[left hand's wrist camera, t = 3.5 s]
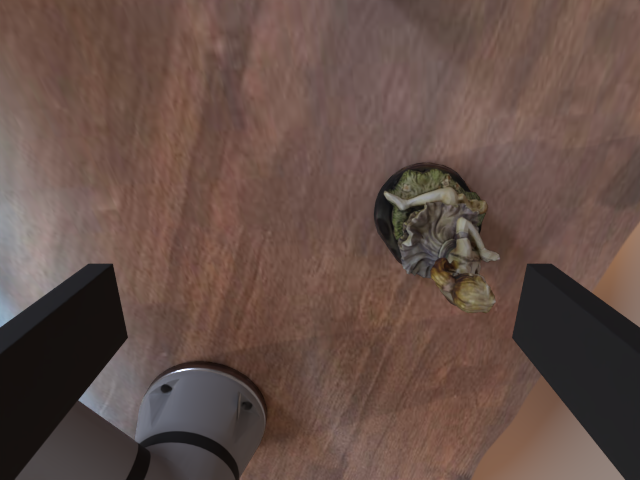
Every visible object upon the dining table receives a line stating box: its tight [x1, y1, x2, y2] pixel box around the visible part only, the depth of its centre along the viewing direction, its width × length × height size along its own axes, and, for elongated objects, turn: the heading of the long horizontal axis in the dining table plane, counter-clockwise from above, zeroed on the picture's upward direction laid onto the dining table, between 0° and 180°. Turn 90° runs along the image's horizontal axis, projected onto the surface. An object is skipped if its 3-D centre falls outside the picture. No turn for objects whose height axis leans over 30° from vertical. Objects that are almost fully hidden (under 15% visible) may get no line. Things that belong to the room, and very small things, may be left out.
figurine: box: [374, 163, 500, 313], centre depth 33 cm, size 12×11×15 cm
